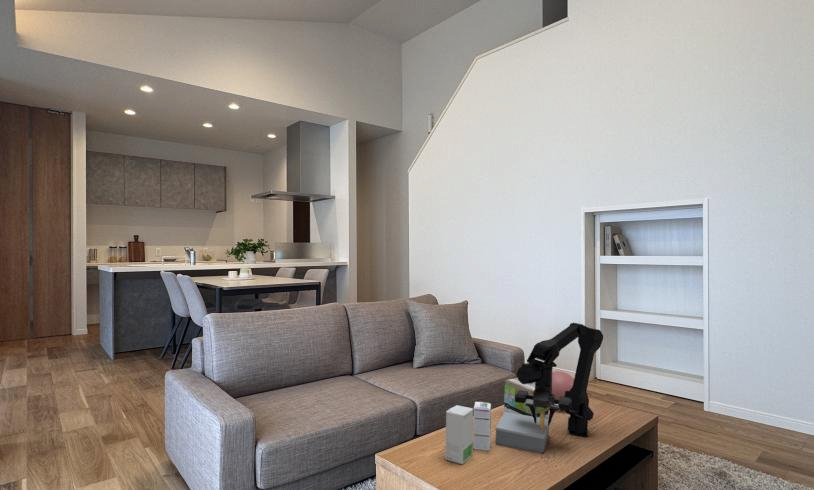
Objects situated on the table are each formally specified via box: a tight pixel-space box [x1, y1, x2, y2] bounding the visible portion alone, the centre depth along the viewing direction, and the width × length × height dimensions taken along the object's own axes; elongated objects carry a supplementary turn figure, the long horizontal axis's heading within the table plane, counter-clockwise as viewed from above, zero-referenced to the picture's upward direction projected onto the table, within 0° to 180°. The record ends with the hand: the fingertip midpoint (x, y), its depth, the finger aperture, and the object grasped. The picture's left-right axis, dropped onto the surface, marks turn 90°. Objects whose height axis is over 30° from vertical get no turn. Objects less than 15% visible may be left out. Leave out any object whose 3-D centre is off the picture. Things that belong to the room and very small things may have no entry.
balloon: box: [552, 370, 575, 399], centre depth 194 cm, size 15×20×15 cm
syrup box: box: [472, 401, 492, 452], centre depth 156 cm, size 6×6×14 cm
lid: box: [495, 411, 549, 439], centre depth 162 cm, size 16×16×6 cm
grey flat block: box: [495, 425, 550, 455], centre depth 163 cm, size 16×16×5 cm
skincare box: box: [444, 404, 474, 465], centre depth 148 cm, size 8×7×16 cm
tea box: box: [503, 377, 550, 419], centre depth 182 cm, size 15×10×15 cm, turn 33°
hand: (542, 424), depth 160 cm, fingers open, 4 cm apart
